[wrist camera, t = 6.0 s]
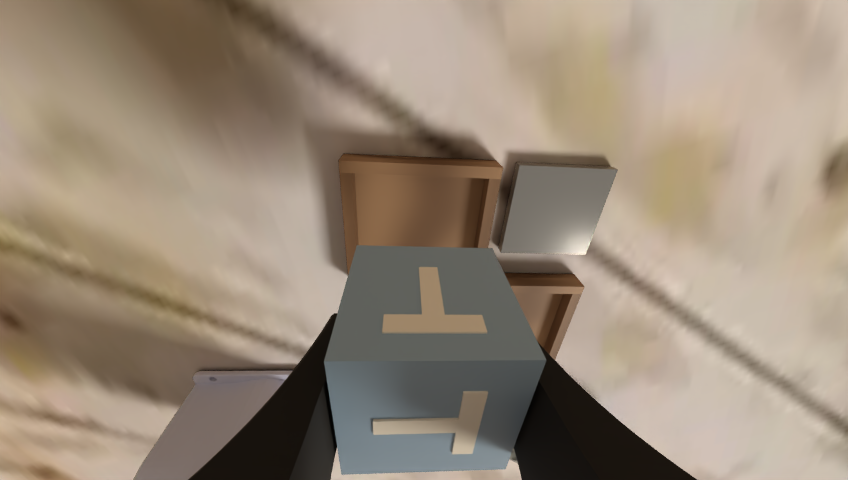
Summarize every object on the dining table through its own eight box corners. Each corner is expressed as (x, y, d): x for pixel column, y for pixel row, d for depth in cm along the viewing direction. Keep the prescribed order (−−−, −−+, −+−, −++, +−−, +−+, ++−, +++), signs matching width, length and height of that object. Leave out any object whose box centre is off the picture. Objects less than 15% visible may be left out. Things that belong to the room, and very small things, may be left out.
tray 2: (444, 355, 24) (446, 370, 23) (455, 271, 20) (458, 285, 19) (543, 355, 25) (550, 370, 23) (573, 274, 21) (584, 286, 19)
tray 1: (352, 278, 20) (349, 292, 19) (343, 153, 16) (338, 160, 15) (474, 280, 20) (479, 293, 19) (495, 160, 16) (503, 167, 15)
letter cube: (362, 342, 13) (341, 477, 9) (356, 243, 11) (323, 361, 6) (473, 342, 14) (505, 471, 9) (492, 246, 11) (548, 360, 7)
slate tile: (498, 247, 19) (500, 252, 19) (516, 162, 17) (520, 165, 16) (580, 249, 20) (585, 254, 19) (611, 166, 17) (617, 169, 16)
